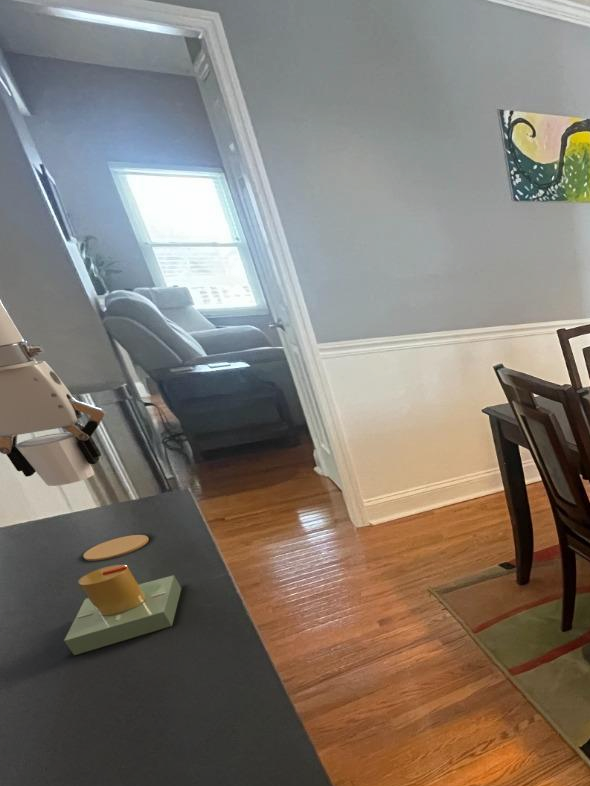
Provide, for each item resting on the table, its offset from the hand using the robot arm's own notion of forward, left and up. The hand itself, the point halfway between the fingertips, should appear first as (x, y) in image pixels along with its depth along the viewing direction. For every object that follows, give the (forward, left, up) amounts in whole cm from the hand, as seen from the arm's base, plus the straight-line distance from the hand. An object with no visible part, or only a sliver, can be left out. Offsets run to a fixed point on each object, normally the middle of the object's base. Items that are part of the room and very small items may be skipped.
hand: (63, 466), depth 97 cm
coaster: (0, +1, -16) cm, 16 cm away
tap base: (+6, -30, -16) cm, 35 cm away
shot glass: (0, 0, -2) cm, 2 cm away
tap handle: (+6, -30, -13) cm, 34 cm away
